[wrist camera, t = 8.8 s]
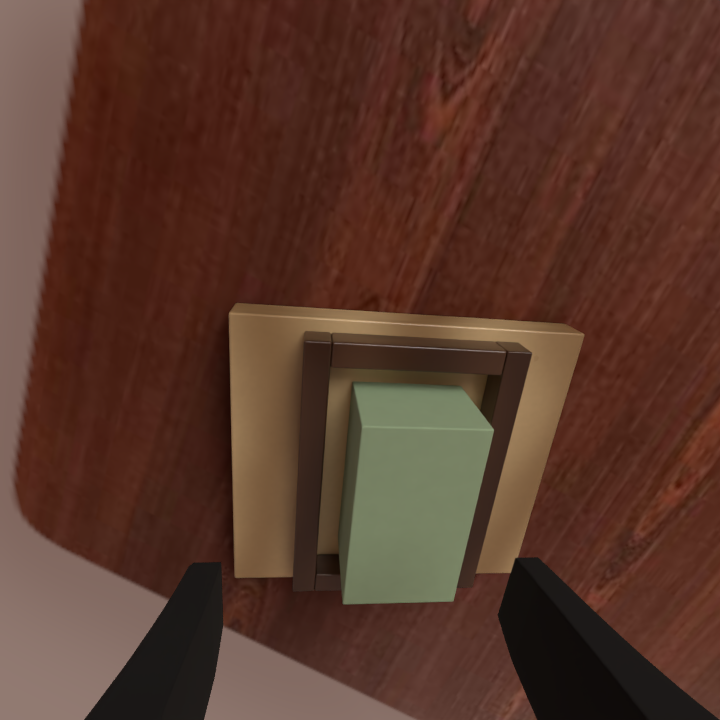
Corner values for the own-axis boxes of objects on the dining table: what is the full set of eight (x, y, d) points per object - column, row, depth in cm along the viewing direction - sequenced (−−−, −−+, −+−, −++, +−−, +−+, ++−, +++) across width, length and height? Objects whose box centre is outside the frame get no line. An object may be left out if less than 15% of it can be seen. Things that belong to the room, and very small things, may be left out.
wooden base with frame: (239, 553, 21) (229, 601, 19) (235, 302, 17) (221, 322, 14) (501, 550, 23) (524, 594, 21) (565, 323, 18) (604, 344, 16)
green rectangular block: (337, 536, 20) (342, 605, 16) (352, 380, 17) (361, 426, 13) (431, 536, 20) (453, 602, 17) (461, 385, 17) (495, 429, 14)
